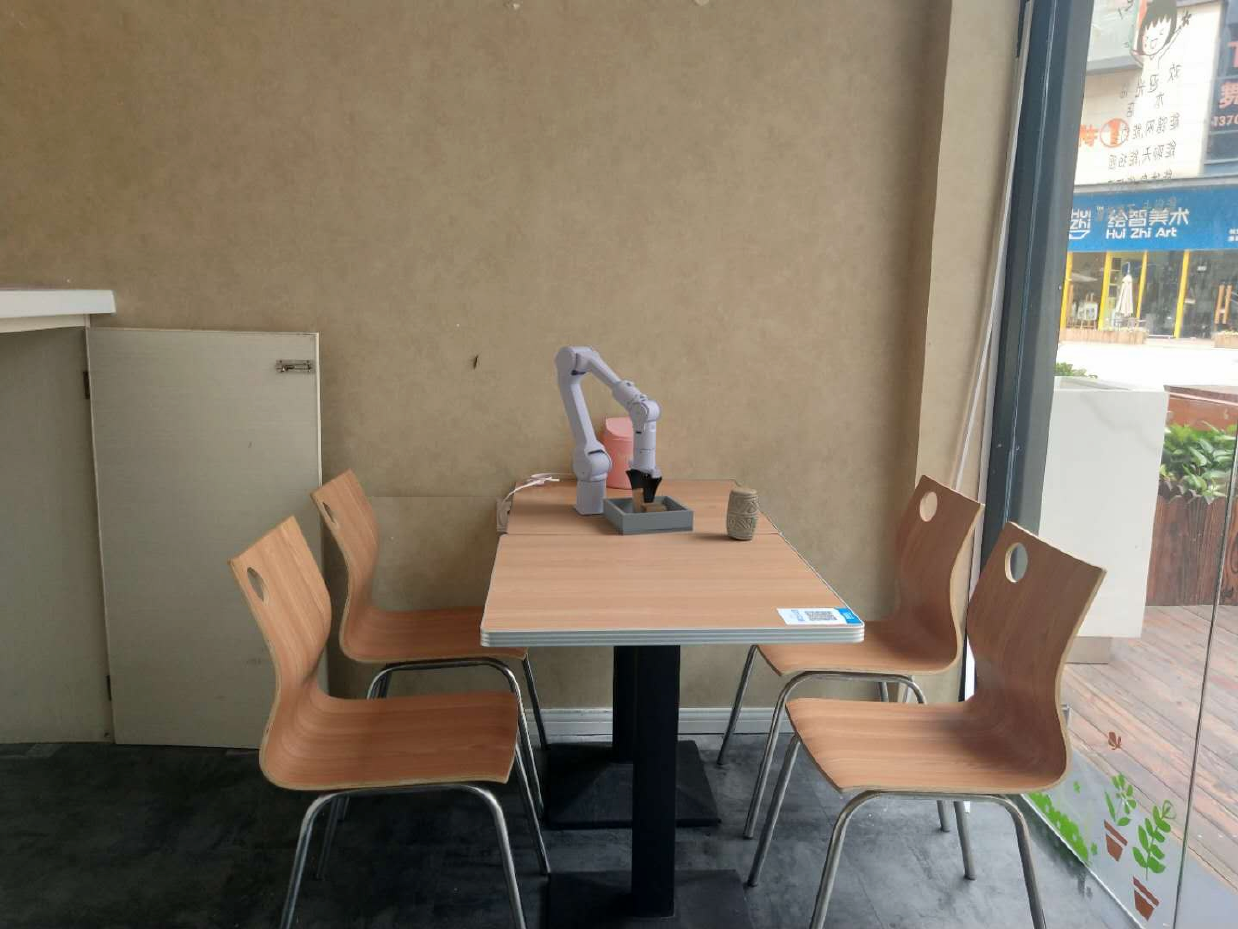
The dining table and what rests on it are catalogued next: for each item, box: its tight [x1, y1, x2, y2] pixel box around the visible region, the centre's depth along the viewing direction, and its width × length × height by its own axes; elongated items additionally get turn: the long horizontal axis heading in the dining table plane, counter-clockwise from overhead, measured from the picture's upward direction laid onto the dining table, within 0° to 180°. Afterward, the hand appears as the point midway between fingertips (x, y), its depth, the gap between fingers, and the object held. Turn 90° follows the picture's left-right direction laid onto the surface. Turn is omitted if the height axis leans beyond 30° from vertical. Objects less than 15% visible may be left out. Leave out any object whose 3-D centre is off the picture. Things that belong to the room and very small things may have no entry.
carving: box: [725, 486, 759, 541], centre depth 216 cm, size 6×8×12 cm
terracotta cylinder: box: [631, 488, 645, 514], centre depth 231 cm, size 5×5×7 cm
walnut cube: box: [640, 503, 666, 513], centre depth 224 cm, size 5×5×5 cm
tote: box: [602, 494, 694, 536], centre depth 228 cm, size 18×18×5 cm
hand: (643, 500), depth 231 cm, fingers open, 6 cm apart
